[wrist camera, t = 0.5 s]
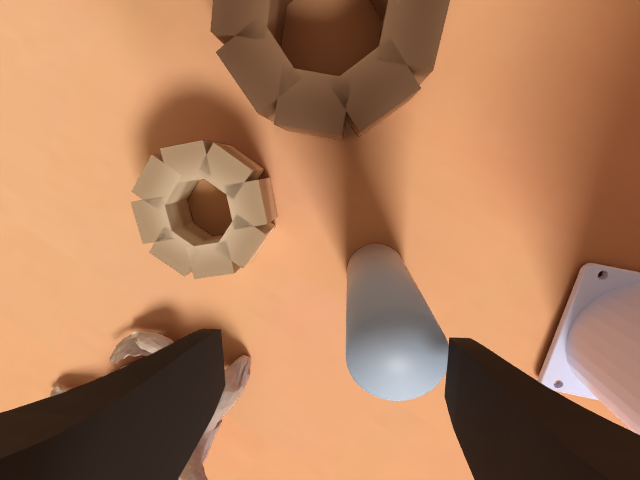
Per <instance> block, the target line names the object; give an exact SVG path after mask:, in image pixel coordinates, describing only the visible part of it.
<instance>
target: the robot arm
mask: <svg viewBox="0 0 640 480" xmlns="http://www.w3.org/2000/svg"><path fill="white" fill-rule="evenodd" d="M601 271H603V274H602V275H601V276H600V277H598V274H599V272H601ZM558 380H559V381H558ZM555 381H558V383H556V384H554V383H555ZM225 386H226V383H225V371H224V360H223V348H222V337H221V330H220V329H201V330H199V331H196V332H194V333H192V334H189V335H187V336H185V337H183V338H181V339H179V340H177V341H175V342H174V343H172V344H170V345H168V346H166V347H164V348H162V349H160V350H158V351H156V352H154V353H152V354H150V355H148V356H146V357H144V358H142V359H140V360H138V361H136V362H134V363H132V364H129V365H127V366H125V367H123V368H121V369H119V370H117V371H115V372H113V373H110V374H108V375H106V376H104V377H101V378H99V379H96V380H94V381H92V382H89V383H87V384H84V385H81V386H79V387H76V388H74V389H71V390H69V391H66V392H63V393H60V394H58V395H55V396H52V397H49V398H45V399H42V400H39V401H36V402H33V403H30V404H27V405H24V406H21V407H18V408H15V409H12V410H9V411H5V412H2V413H0V480H178V479H179V477H180V475H181V473H182V471H183V470H184V468H185V466H186V464H187V463H188V461H189V459H190V457H191V455H192V454H193V452H194V450H195V448H196V446H197V445H198V443H199V441H200V439H201V438H202V436H203V434H204V432H205V430H206V428H207V427H208V425H209V423H210V421H211V419H212V417H213V415H214V413H215V411H216V409H217V406H218V404H219V401H220V399H221V396H222V393H223V391H224V388H225ZM555 391H558V392H563V393H568V394H573V395H577V396H582V397H587V398H592V399H596V400H600V401H601V402H602V403H603V404H604V405H605V406H606V407H607V408H608V409H609V410H610V411H611V412H612V413H613V414H615V415H616V416H617V417H618V418H619V419H620V420H621V421H622V422H623V423H624V424H625V425H626V426H627V427H628V428H629V429H630V430H631V431H630V430H628V429H626V428H624V427H622V426H619V425H617V424H615V423H613V422H611V421H609V420H607V419H605V418H603V417H601V416H599V415H597V414H596V413H594V412H592V411H590V410H588V409H586V408H584V407H582V406H580V405H578V404H576V403H574V402H573V401H571V400H569V399H567V398H565V397H564V396H562V395H560V394H559V393H557V392H555ZM445 400H446V403H447V407H448V411H449V415H450V418H451V422H452V425H453V428H454V431H455V434H456V436H457V439H458V441H459V443H460V446H461V448H462V451H463V453H464V456H465V458H466V460H467V463H468V465H469V468H470V470H471V472H472V475H473V477H474V479H475V480H640V272H637V271H632V270H626V269H621V268H616V267H611V266H606V265H600V264H595V263H587V264H585V265H584V266H582V268H581V269H580V271H579V274H578V277H577V279H576V282H575V284H574V287H573V289H572V292H571V295H570V297H569V300H568V302H567V305H566V307H565V310H564V313H563V315H562V318H561V320H560V323H559V325H558V328H557V330H556V333H555V336H554V338H553V341H552V343H551V346H550V348H549V351H548V354H547V356H546V359H545V361H544V364H543V366H542V369H541V372H540V374H539V377H538V381H537V380H535V379H533V378H532V377H530V376H529V375H527V374H526V373H524V372H522V371H521V370H519V369H518V368H516V367H515V366H513V365H512V364H510V363H509V362H507V361H506V360H504V359H503V358H501V357H500V356H498V355H497V354H495V353H493V352H492V351H490V350H489V349H487V348H486V347H484V346H483V345H481V344H480V343H478V342H476V341H474V340H473V339H471V338H449V349H448V361H447V373H446V386H445ZM632 431H633V432H632Z"/></svg>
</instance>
